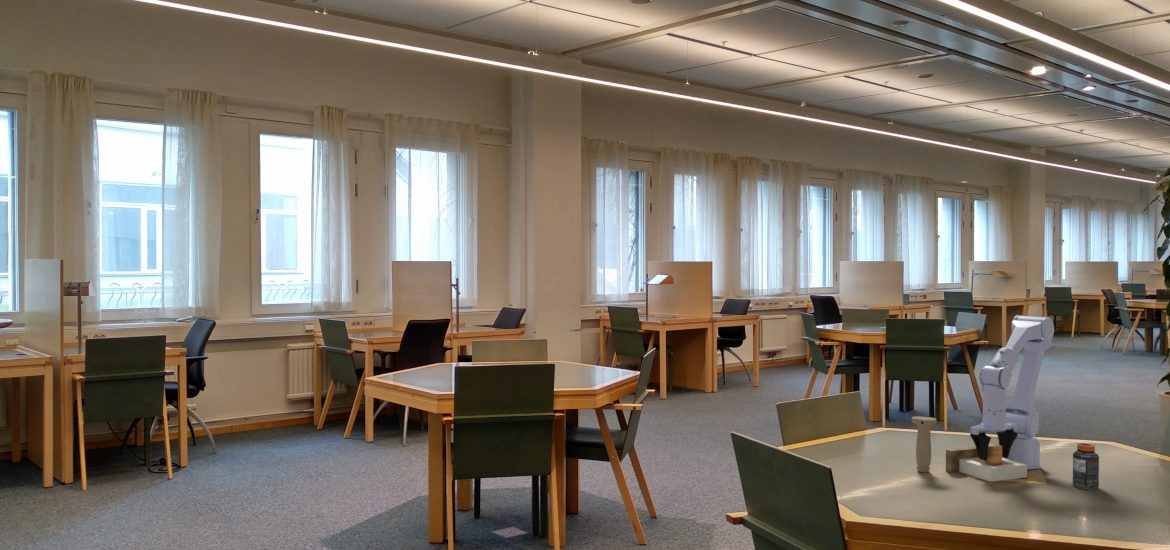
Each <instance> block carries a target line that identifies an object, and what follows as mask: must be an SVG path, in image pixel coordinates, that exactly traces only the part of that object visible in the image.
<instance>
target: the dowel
mask: <svg viewBox="0 0 1170 550" xmlns="http://www.w3.org/2000/svg"><path fill="white" fill-rule="evenodd" d="M984 464H986V465H989V466H1000V465H1002V446H1001V445H999V444H998V445H997V444H993V443H989V446H988V455H987V460H985V461H984Z"/></svg>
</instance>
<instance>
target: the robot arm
mask: <svg viewBox="0 0 1170 550" xmlns="http://www.w3.org/2000/svg"><path fill="white" fill-rule="evenodd" d="M1054 333H1055V326H1054V322H1053V319H1052V318H1051V317H1050V316H1046V317H1045V316H1044V317H1043V316H1031V315H1030V316H1027V315H1021V314H1020V315H1019V314H1017V315H1015V316H1014V317H1013V318H1012V321H1011V335H1010V337H1009V339H1008V340H1007V342H1006V345H1005V347H1001V348H999V349H998V351H997V352H996V353H995V355H994V356H993V358H992V360H991V361H990V363H989V364H988V365H985V366H983V367H982V368H981V369H980V371H979V374H978V381H979V384H980V390H981V392H982V422H980V424H977V425H974V426H971V427H970V438H971V439H972V441H973V443H974V445H975V446H974V447H976V449H977V452H978V456H979V459H981V460H987V455H988V446H989V444H990V442H991V439H992V436H988V435H987V434H992V433H993V434H994V433H996V435H997V438H998V439H997V440H998V445H1001V446H1002V457H1003V458H1006V459H1009V460H1013V461H1016V462H1020V463H1023V464H1027V471H1028V470H1036V469H1037V470H1038V469H1042V468H1043V466H1042V465H1041V464H1040V463H1041V462H1040V461H1041V460H1040V459H1041V445H1040V441H1039V440H1038V438H1037V437H1036V435H1037V434H1038V432H1039V429H1040V412H1039V411H1038V410H1037V409H1036V408H1035V407H1034V406H1033V405H1032V403H1033V399H1034V396H1035V392H1036V391H1035V390H1036V387H1037V385H1038V384H1037V383H1038V380H1039V376H1040V371H1041V367H1042V364H1043V359H1044V355H1045V351H1047V350H1048V349H1051V345H1052V343H1053V338H1054ZM1023 349H1024V353H1023V357H1022V361H1021V364H1020V368H1019V372H1018V376H1017V381H1016V384H1015V388H1014V392H1013V395H1012V399H1011V400H1010V401H1007V388H1008V387H1009V386H1010V383H1011V378H1012V376H1013V370H1014V368H1015V367H1016V365H1017V364H1018V362H1019V360H1020V357H1019V356H1020V355H1019V353H1020V352H1021V351H1022V350H1023Z"/></svg>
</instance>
